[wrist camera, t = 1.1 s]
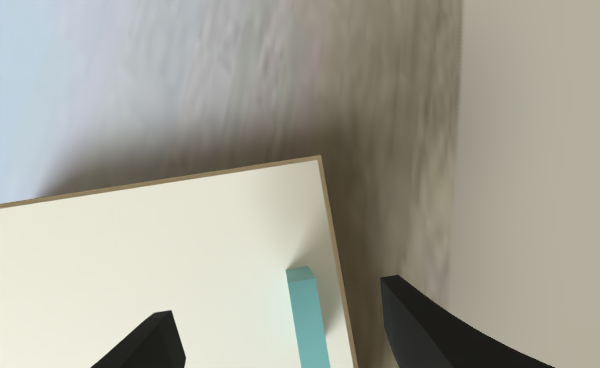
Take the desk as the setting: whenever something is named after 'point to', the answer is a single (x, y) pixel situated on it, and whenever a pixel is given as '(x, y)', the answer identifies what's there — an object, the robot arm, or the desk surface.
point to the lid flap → (177, 273)
